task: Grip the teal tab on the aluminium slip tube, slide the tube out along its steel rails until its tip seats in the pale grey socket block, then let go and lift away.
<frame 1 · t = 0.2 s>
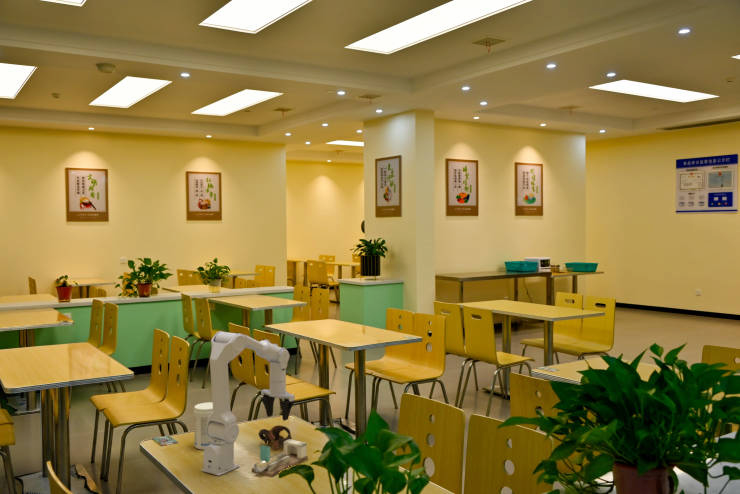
hand: (277, 418, 229), 10 cm above the table, tool pointing down, fingers open, 7 cm apart
socket block: (295, 448, 217), point 3 cm above the table
supplement tub: (208, 446, 229), on the table
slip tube: (270, 455, 206), point 5 cm above the table, slide at 0.0 cm
channel board: (277, 466, 209), on the table
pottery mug: (275, 446, 229), on the table
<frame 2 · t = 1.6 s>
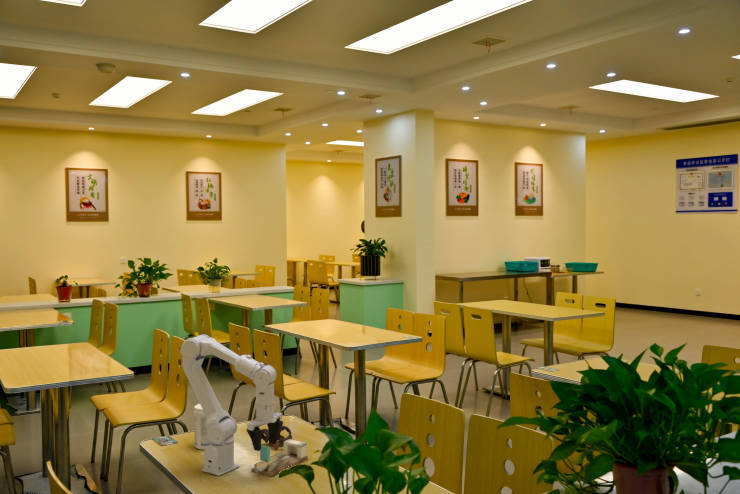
hand: (265, 446, 203), 8 cm above the table, tool pointing down, fingers open, 7 cm apart
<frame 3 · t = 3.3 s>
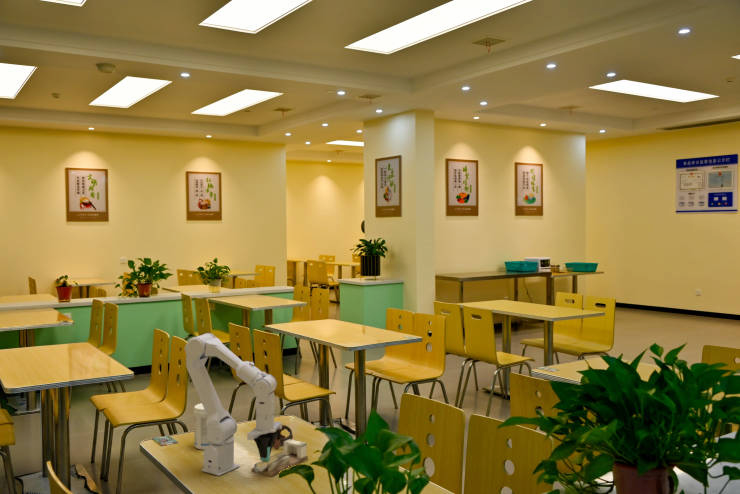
hand: (265, 456, 204), 5 cm above the table, tool pointing down, fingers closed on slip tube
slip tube: (270, 455, 206), point 5 cm above the table, slide at 0.0 cm, touching gripper
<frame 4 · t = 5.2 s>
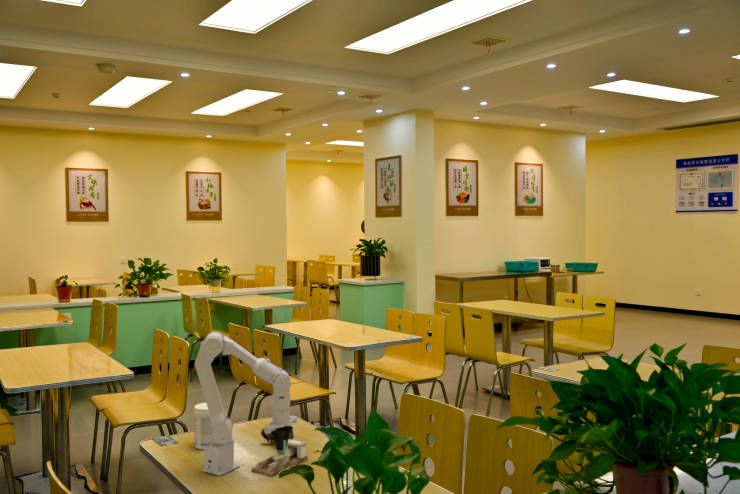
hand: (281, 449, 210), 5 cm above the table, tool pointing down, fingers closed on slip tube
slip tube: (286, 448, 213), point 5 cm above the table, slide at 8.0 cm, touching gripper
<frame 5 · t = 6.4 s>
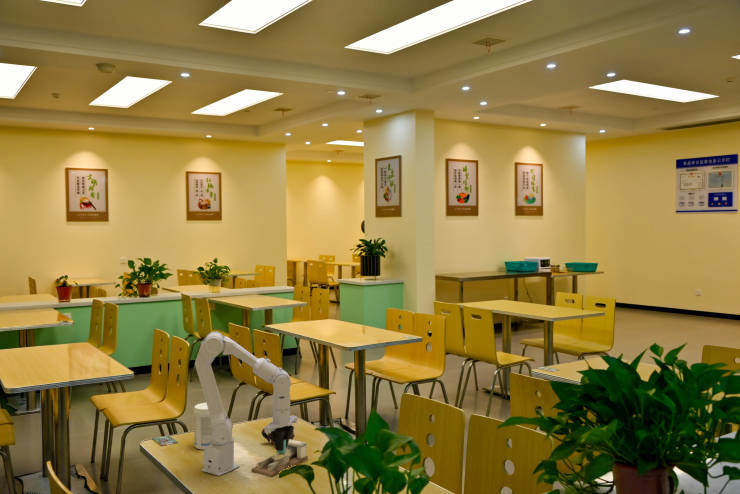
hand: (281, 449, 210), 5 cm above the table, tool pointing down, fingers closed
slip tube: (286, 448, 213), point 5 cm above the table, slide at 8.0 cm
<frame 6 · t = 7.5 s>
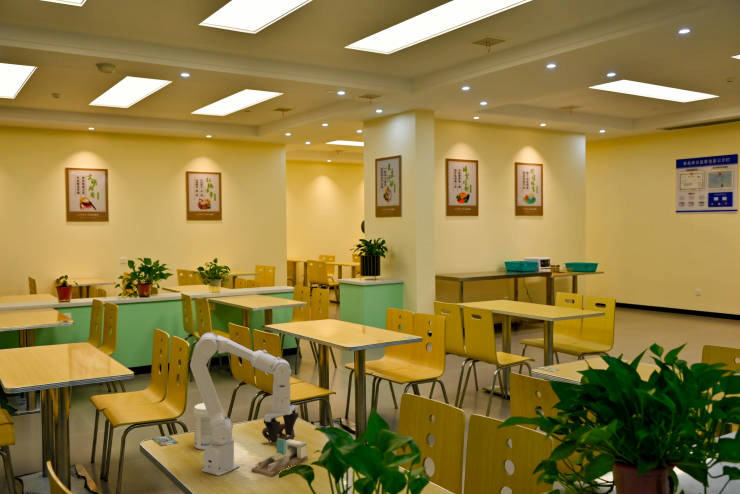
hand: (281, 438, 210), 9 cm above the table, tool pointing down, fingers open, 7 cm apart
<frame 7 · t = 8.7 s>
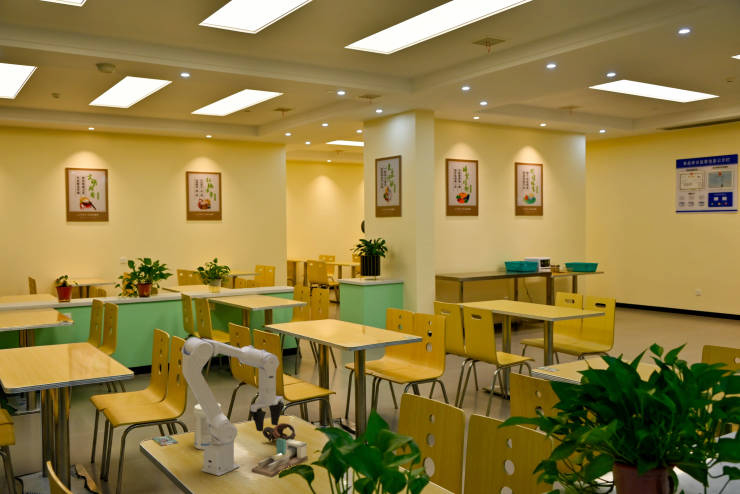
hand: (267, 427, 216), 10 cm above the table, tool pointing down, fingers open, 7 cm apart
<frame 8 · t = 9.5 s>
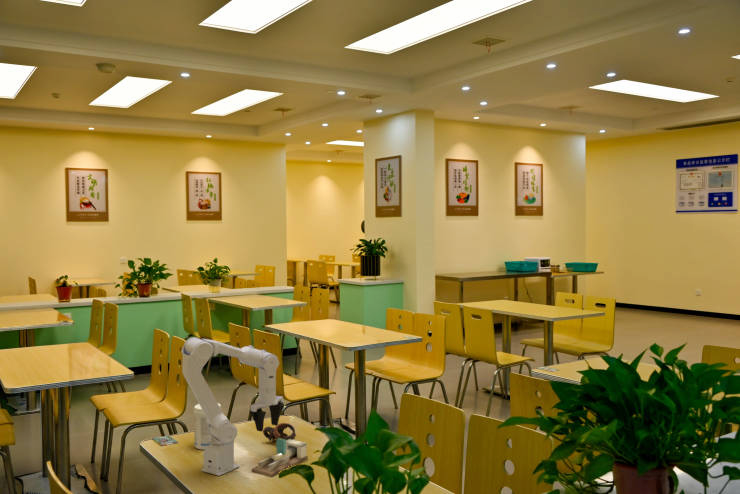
hand: (267, 427, 216), 10 cm above the table, tool pointing down, fingers open, 7 cm apart
at the end: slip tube slide at 8.0 cm; the gripper is holding nothing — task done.
